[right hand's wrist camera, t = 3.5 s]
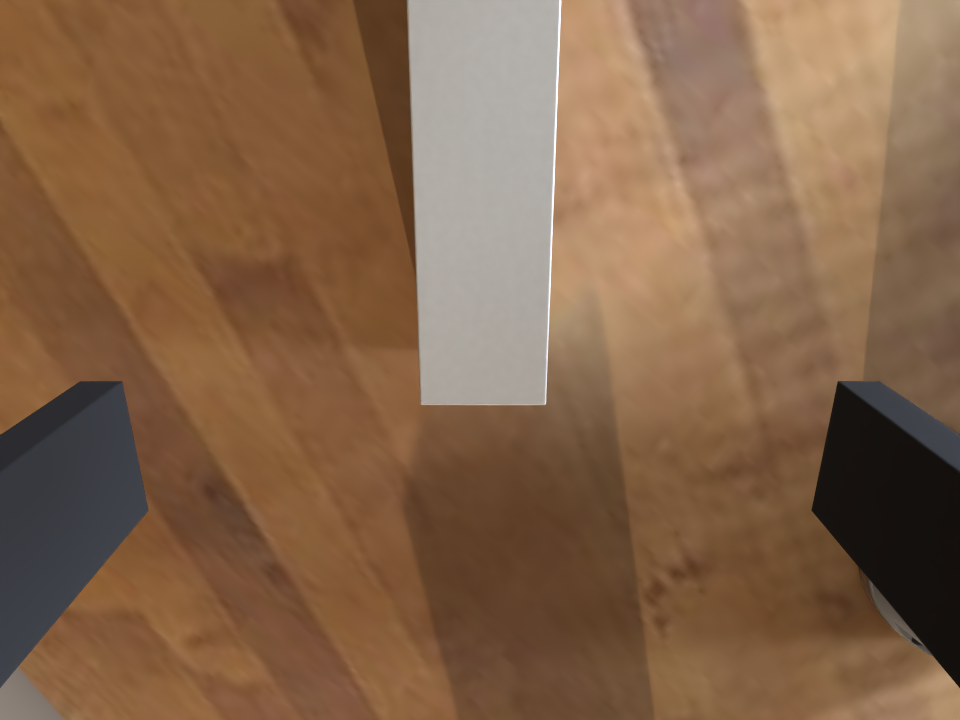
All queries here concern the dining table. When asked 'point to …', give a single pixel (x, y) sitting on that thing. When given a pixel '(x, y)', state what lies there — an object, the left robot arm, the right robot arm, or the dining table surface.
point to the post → (483, 195)
